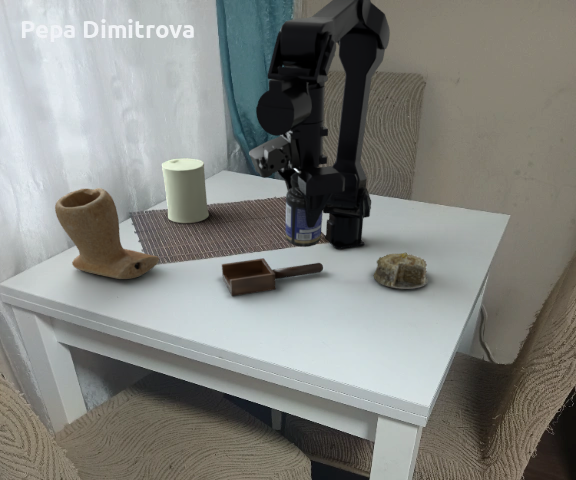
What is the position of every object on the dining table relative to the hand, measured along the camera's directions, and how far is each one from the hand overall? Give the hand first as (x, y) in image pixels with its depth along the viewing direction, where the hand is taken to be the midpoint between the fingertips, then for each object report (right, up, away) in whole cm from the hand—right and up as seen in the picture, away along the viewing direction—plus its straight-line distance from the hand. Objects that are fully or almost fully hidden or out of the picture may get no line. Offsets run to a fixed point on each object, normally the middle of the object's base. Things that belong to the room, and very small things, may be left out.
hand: (303, 219), depth 95 cm
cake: (+18, -8, +10) cm, 22 cm away
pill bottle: (0, -3, +3) cm, 4 cm away
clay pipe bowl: (-36, -7, +12) cm, 39 cm away
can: (-25, +11, +35) cm, 45 cm away
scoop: (-5, -8, +9) cm, 13 cm away
